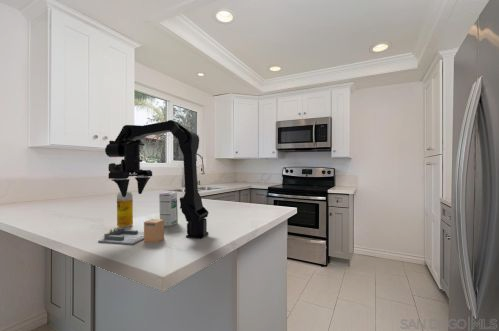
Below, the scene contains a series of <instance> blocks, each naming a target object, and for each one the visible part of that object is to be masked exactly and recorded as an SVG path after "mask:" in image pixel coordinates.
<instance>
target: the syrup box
mask: <svg viewBox="0 0 499 331" xmlns="http://www.w3.org/2000/svg"><path fill="white" fill-rule="evenodd" d="M158 196H159V197H158V199H159V201H158V202H159V219H161V220H164V227H172V226H174V225H176V224H178V221H179V220H178V217H179V216H178V192H177V191H166V192H161V193H159V194H158Z"/></svg>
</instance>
